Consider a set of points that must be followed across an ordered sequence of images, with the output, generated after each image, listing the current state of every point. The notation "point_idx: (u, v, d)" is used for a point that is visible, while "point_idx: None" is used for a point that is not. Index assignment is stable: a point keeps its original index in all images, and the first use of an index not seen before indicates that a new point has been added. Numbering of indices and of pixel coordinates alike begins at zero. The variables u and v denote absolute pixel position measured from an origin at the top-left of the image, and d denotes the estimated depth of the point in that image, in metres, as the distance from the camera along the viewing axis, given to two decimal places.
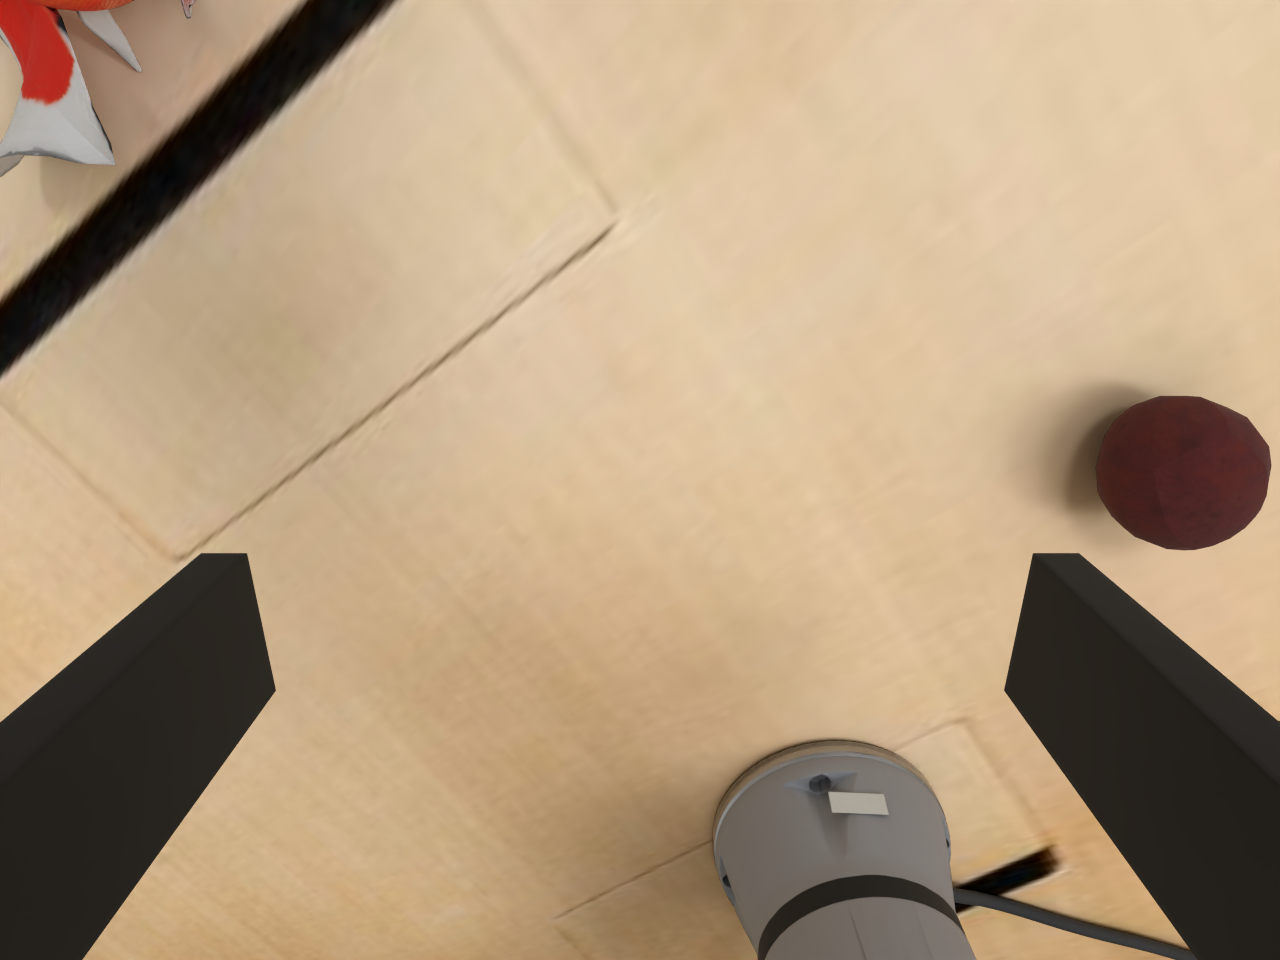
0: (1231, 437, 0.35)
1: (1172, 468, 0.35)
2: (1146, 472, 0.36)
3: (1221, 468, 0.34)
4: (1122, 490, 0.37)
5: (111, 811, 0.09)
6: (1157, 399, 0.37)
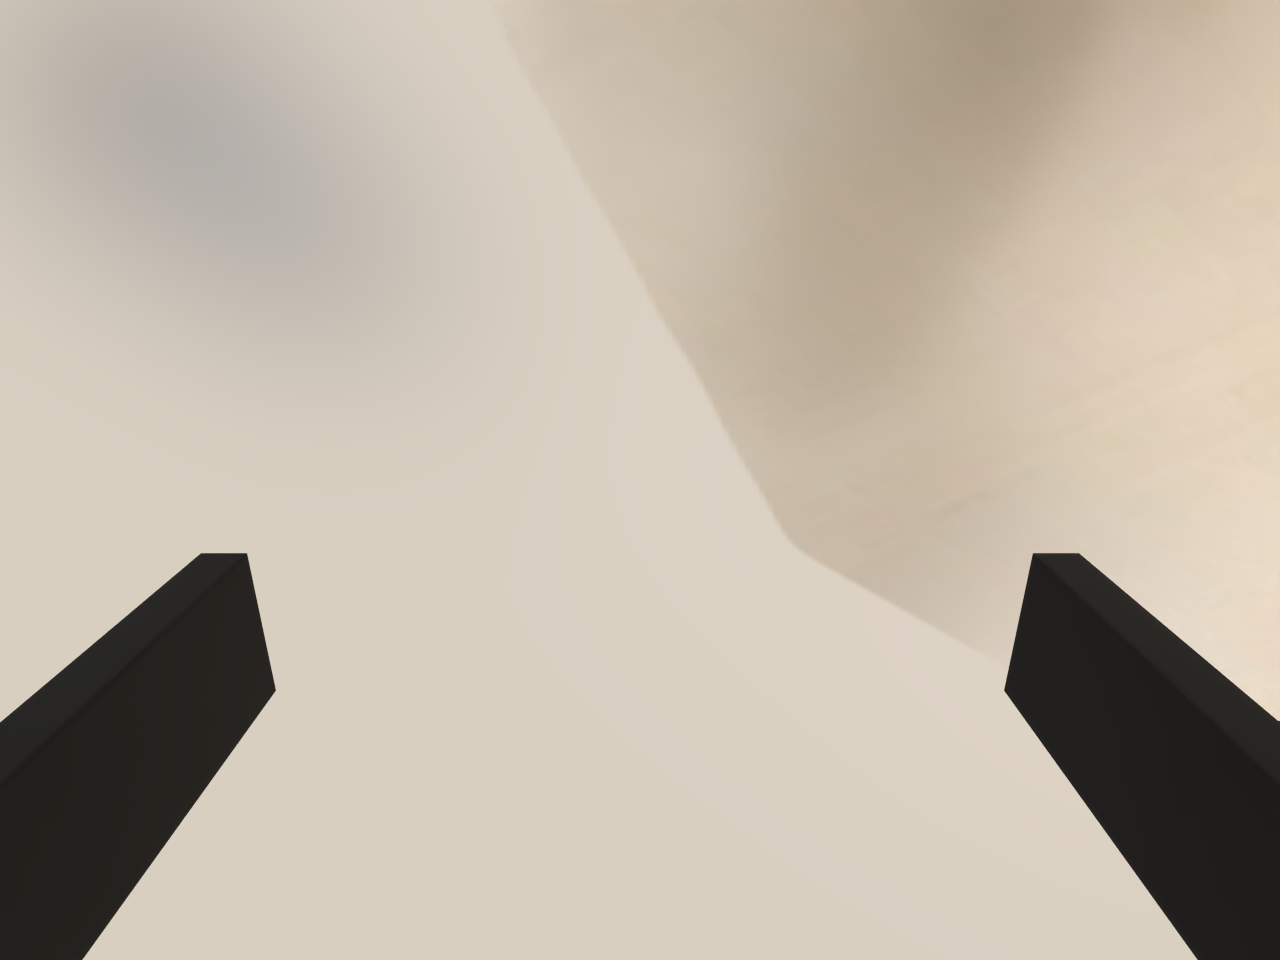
0: None
1: None
2: None
3: None
4: None
5: (109, 811, 0.09)
6: None
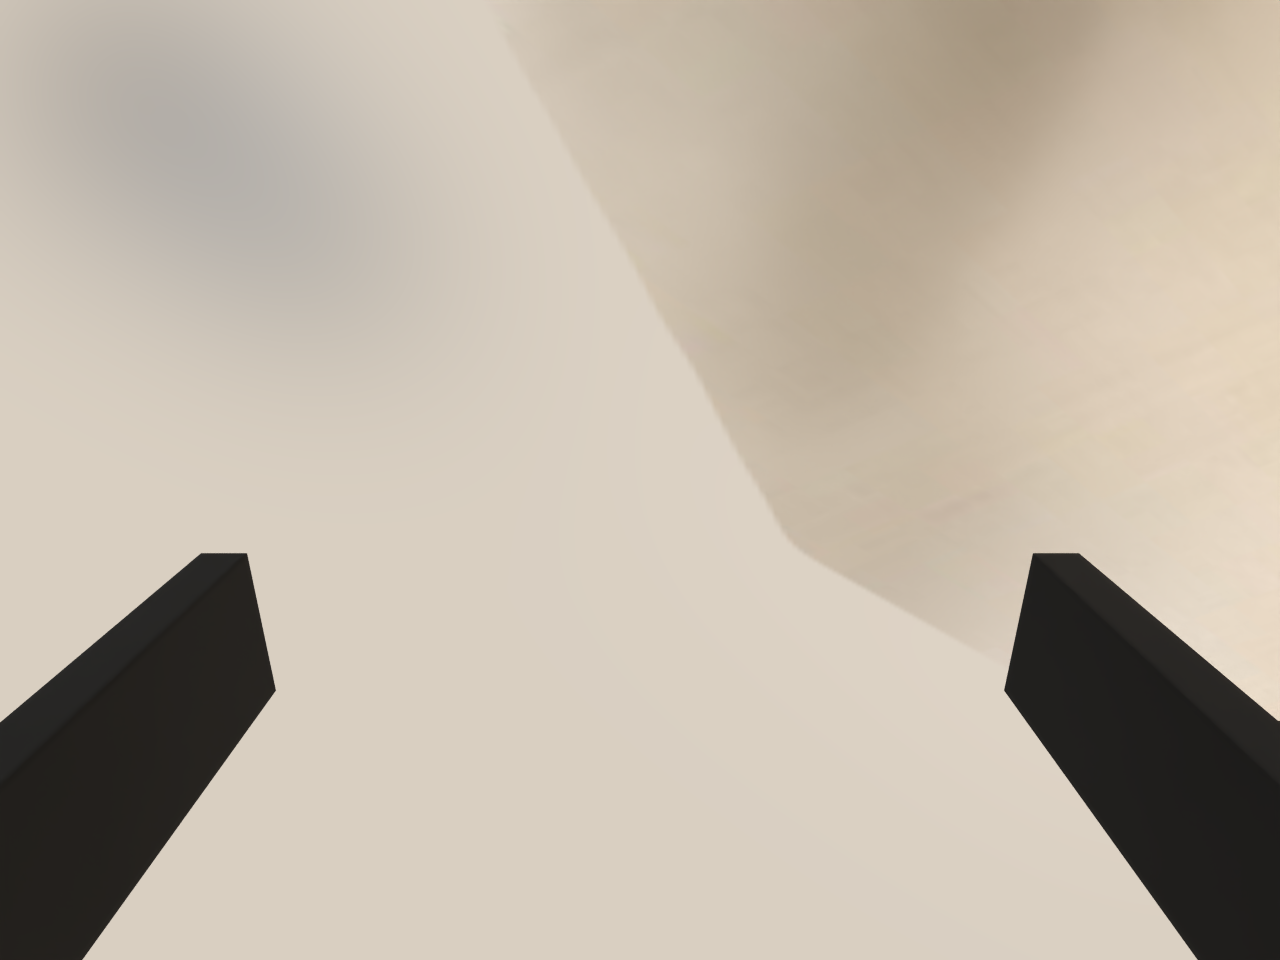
0: None
1: None
2: None
3: None
4: None
5: (109, 811, 0.09)
6: None
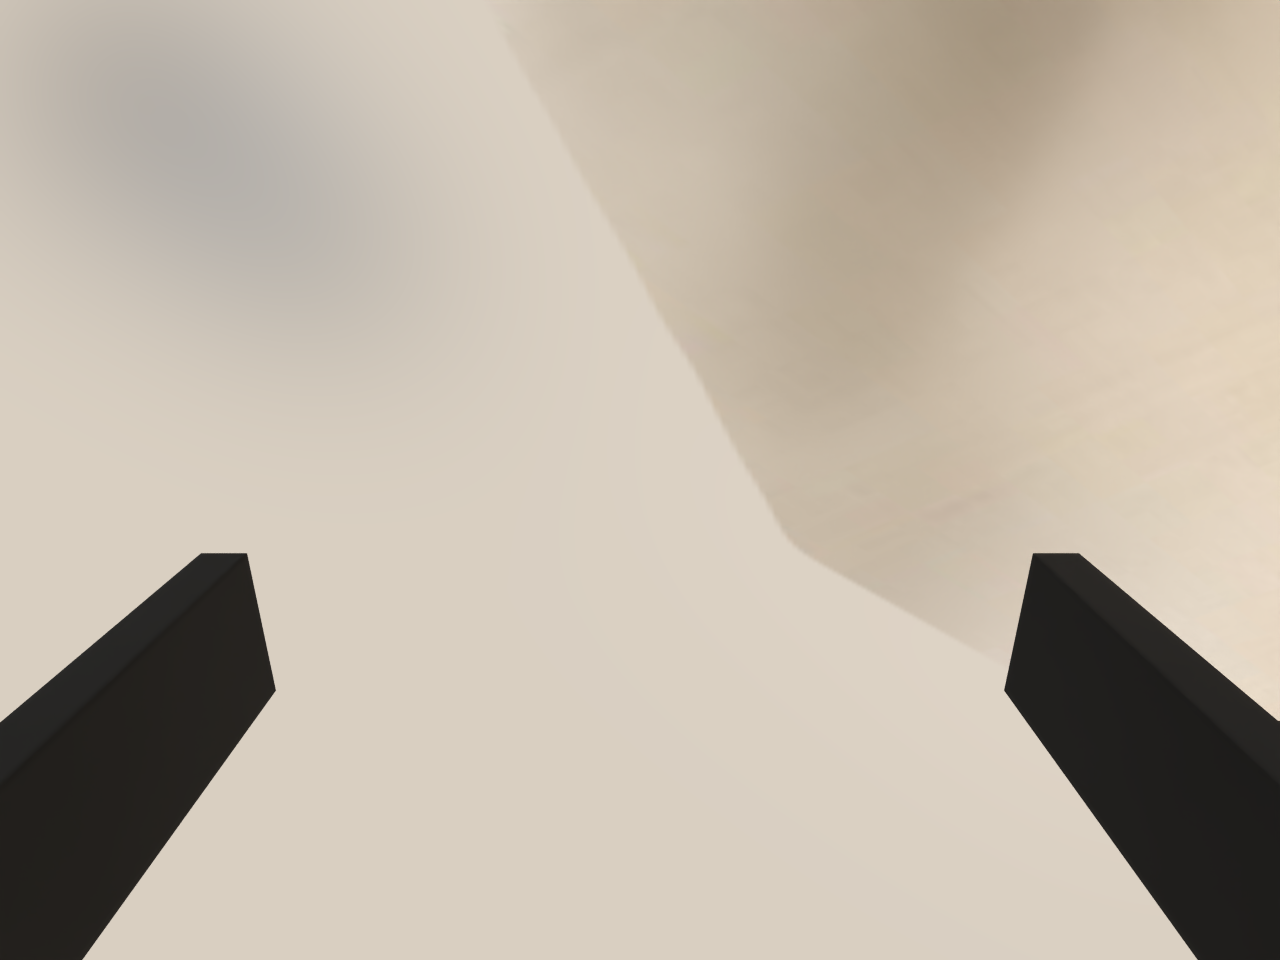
0: None
1: None
2: None
3: None
4: None
5: (109, 811, 0.09)
6: None
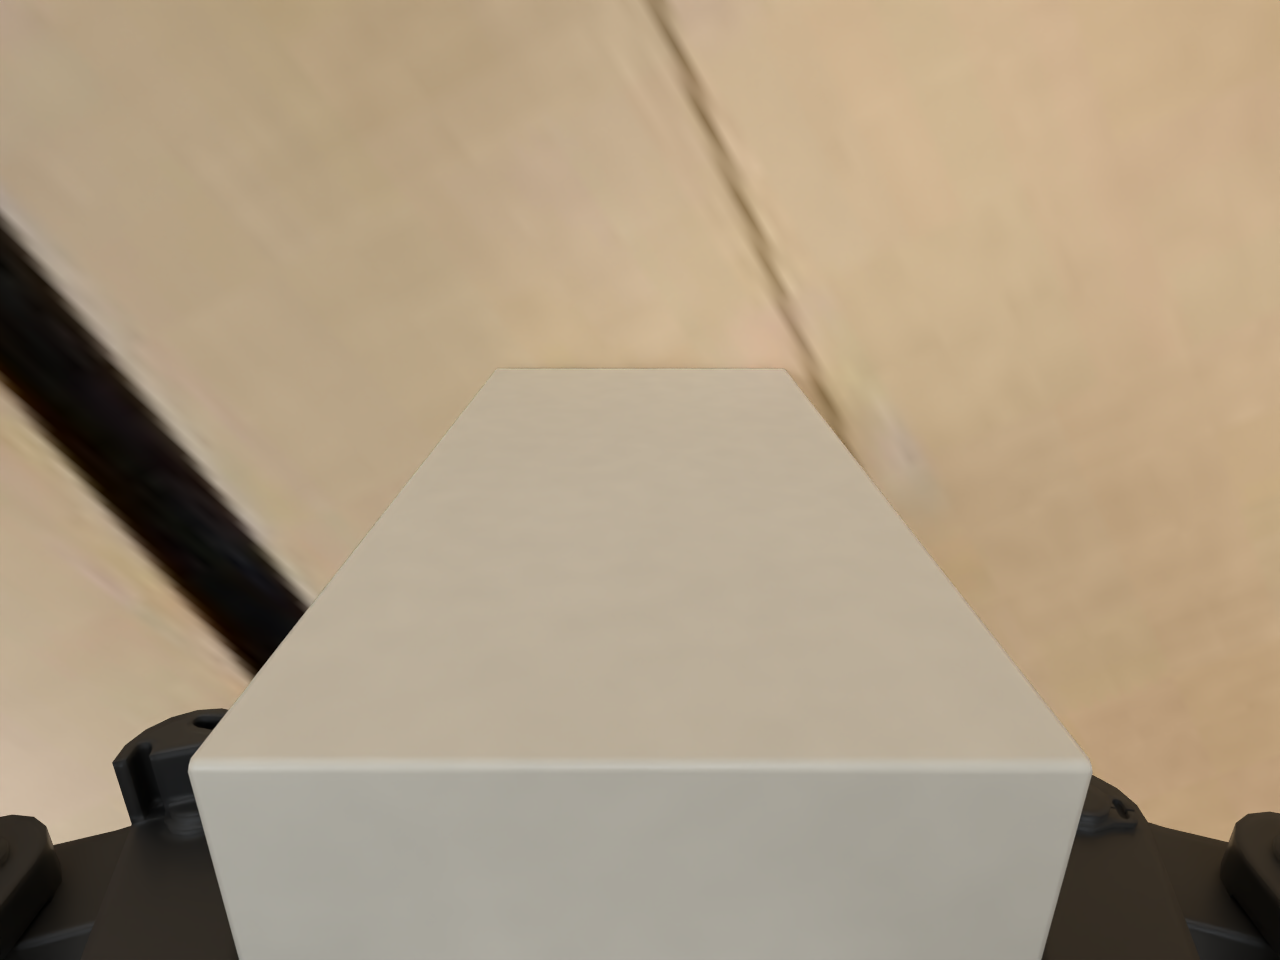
0: None
1: None
2: None
3: None
4: None
5: None
6: None
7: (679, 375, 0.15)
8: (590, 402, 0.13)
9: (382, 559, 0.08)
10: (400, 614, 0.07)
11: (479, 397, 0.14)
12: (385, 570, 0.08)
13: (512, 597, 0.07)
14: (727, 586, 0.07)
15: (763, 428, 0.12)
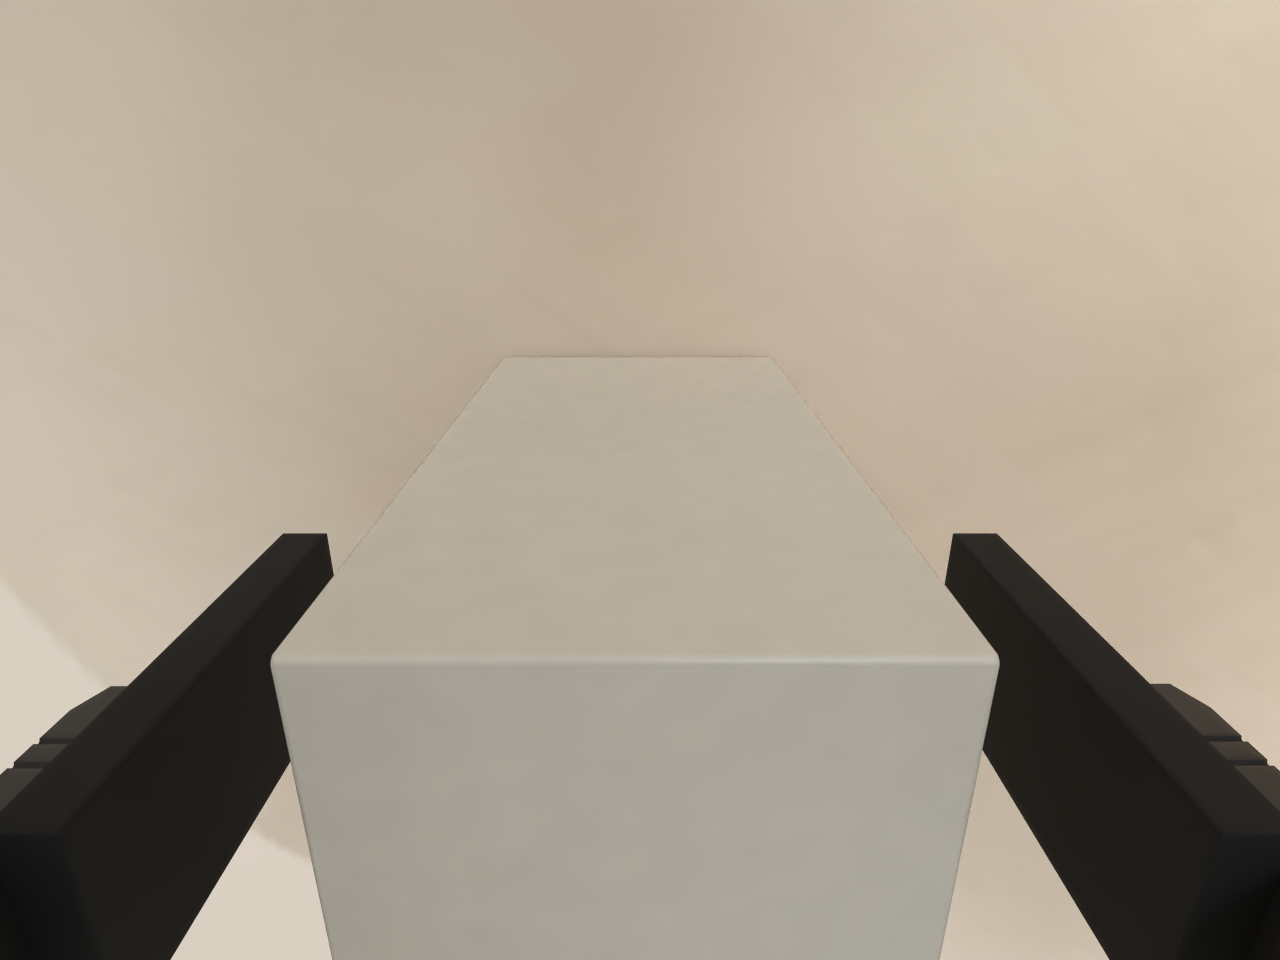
0: None
1: None
2: None
3: None
4: None
5: (225, 766, 0.10)
6: None
7: (673, 363, 0.17)
8: (591, 386, 0.15)
9: (413, 513, 0.09)
10: (433, 553, 0.08)
11: (489, 382, 0.15)
12: (416, 521, 0.09)
13: (527, 542, 0.08)
14: (710, 533, 0.09)
15: (748, 408, 0.13)
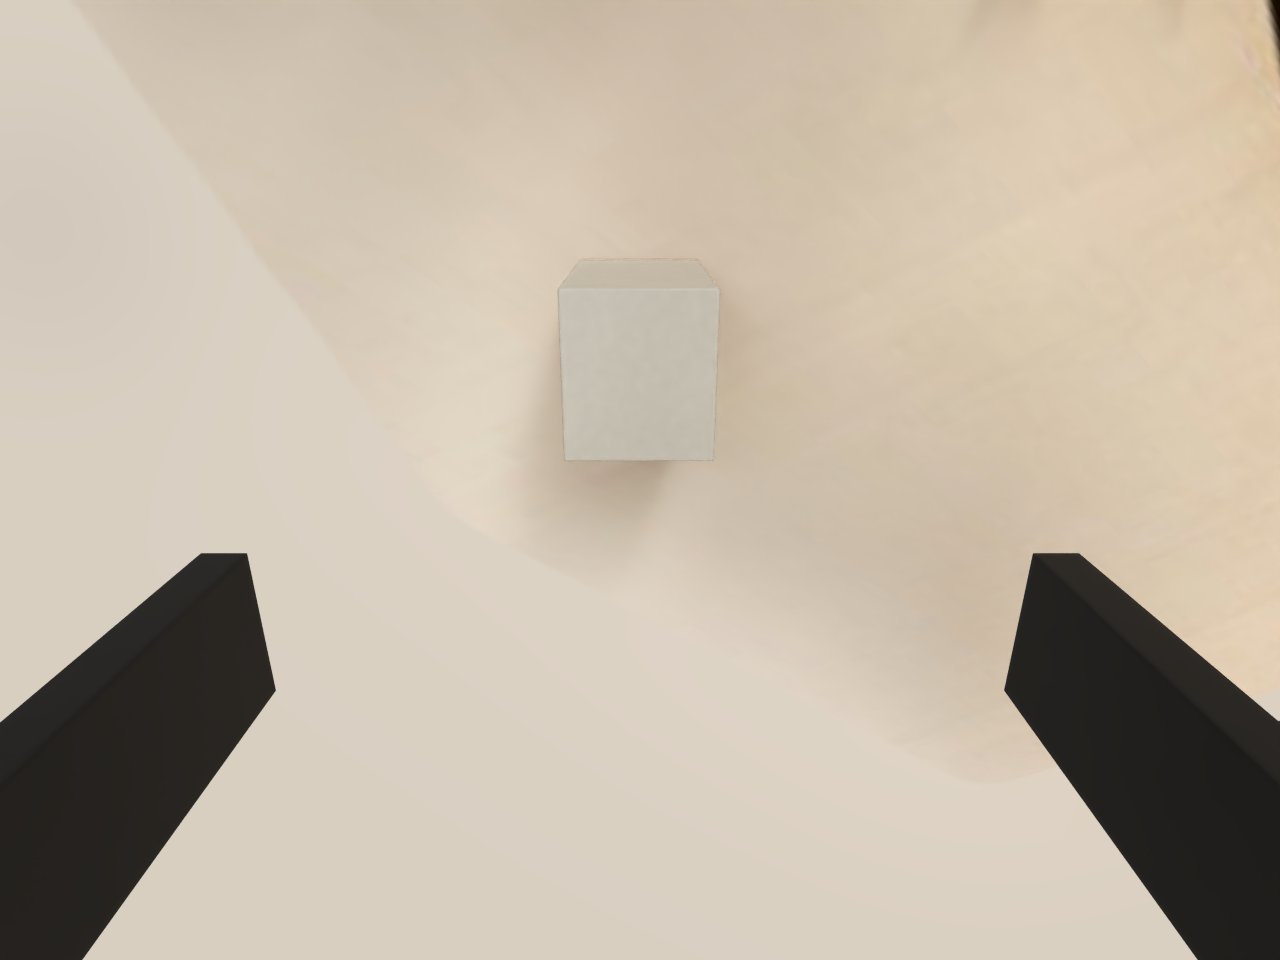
0: None
1: None
2: None
3: None
4: None
5: (111, 811, 0.09)
6: None
7: (654, 260, 0.39)
8: (620, 264, 0.37)
9: (574, 278, 0.31)
10: (585, 281, 0.30)
11: (579, 263, 0.37)
12: (576, 279, 0.31)
13: (609, 280, 0.31)
14: (659, 280, 0.31)
15: (680, 267, 0.35)
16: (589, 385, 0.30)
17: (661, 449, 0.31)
